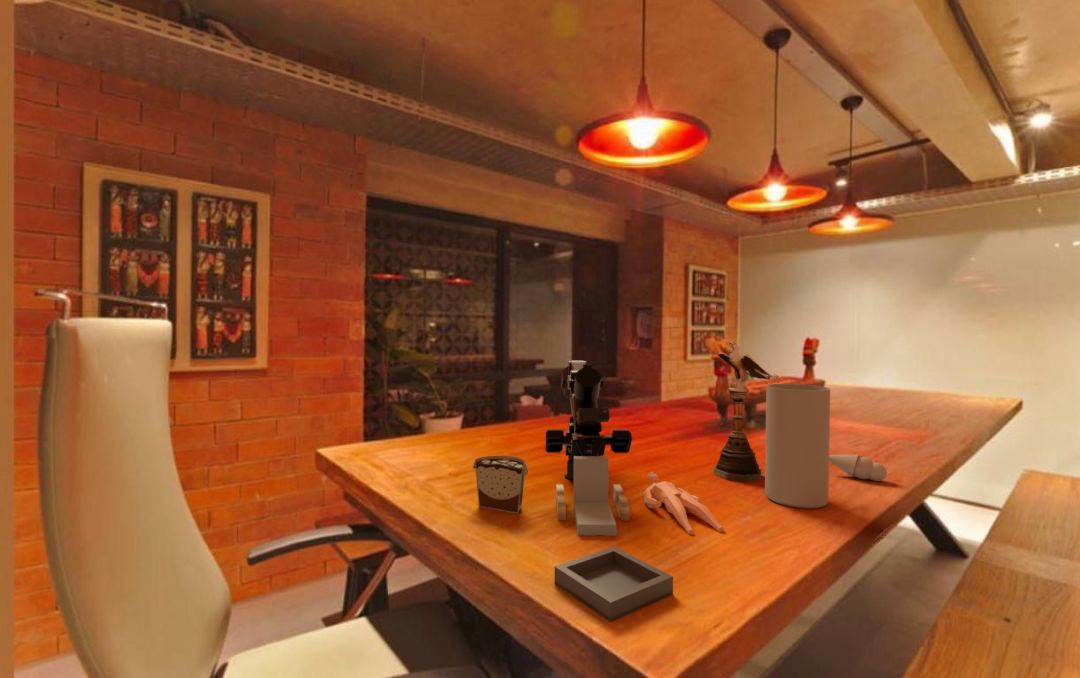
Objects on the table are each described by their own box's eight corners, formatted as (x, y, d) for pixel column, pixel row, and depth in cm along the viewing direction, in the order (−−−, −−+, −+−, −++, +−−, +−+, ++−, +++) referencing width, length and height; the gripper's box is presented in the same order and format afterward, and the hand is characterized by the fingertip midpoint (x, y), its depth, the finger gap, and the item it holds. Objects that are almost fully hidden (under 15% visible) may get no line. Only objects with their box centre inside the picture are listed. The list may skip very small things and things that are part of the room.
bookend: (573, 508, 106) (573, 456, 106) (606, 508, 106) (607, 456, 106) (577, 535, 92) (578, 475, 92) (616, 535, 92) (616, 475, 92)
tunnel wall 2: (612, 499, 111) (612, 484, 111) (619, 499, 111) (619, 484, 111) (621, 520, 99) (621, 502, 99) (629, 520, 99) (629, 502, 99)
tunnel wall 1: (555, 499, 111) (556, 483, 111) (562, 499, 111) (562, 483, 111) (557, 520, 99) (558, 502, 99) (565, 520, 99) (565, 502, 99)
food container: (537, 505, 108) (538, 458, 107) (524, 515, 102) (525, 465, 102) (487, 497, 113) (487, 452, 112) (472, 505, 107) (472, 458, 107)
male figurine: (680, 519, 92) (628, 470, 116) (679, 545, 92) (628, 491, 117) (733, 515, 94) (672, 467, 118) (732, 540, 95) (671, 488, 119)
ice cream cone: (816, 470, 135) (883, 491, 126) (815, 459, 131) (884, 480, 121) (823, 450, 137) (889, 469, 128) (822, 439, 133) (890, 458, 124)
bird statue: (749, 463, 142) (750, 339, 141) (786, 476, 129) (788, 340, 129) (700, 469, 136) (701, 339, 135) (734, 483, 124) (736, 340, 123)
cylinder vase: (834, 499, 112) (836, 387, 112) (819, 514, 103) (821, 392, 103) (775, 487, 121) (777, 382, 120) (756, 499, 112) (757, 387, 111)
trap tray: (614, 561, 82) (614, 546, 81) (672, 594, 72) (673, 576, 72) (554, 583, 75) (554, 566, 75) (610, 621, 65) (610, 602, 65)
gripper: (545, 392, 111) (546, 454, 100) (630, 393, 111) (640, 455, 100) (545, 422, 119) (545, 482, 108) (624, 422, 119) (632, 483, 108)
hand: (590, 475), depth 106 cm, fingers closed, pressing on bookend
